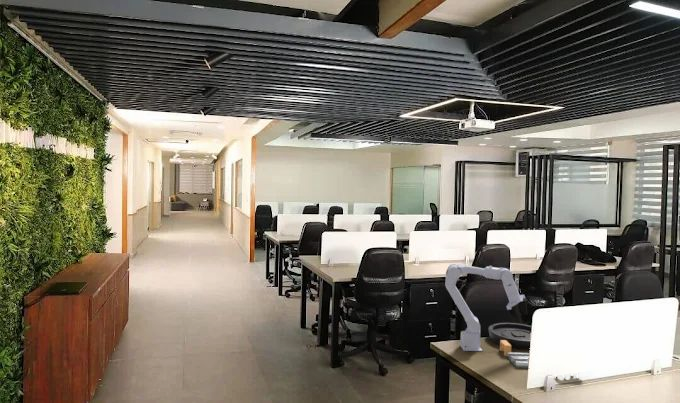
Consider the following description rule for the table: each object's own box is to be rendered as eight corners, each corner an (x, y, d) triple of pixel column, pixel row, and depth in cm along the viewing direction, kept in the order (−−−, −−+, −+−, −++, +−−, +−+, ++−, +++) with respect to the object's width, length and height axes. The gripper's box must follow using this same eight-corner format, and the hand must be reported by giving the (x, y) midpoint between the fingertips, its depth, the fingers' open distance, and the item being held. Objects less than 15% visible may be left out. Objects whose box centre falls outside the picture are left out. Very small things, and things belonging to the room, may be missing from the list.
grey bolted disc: (533, 332, 263) (481, 331, 263) (534, 322, 263) (481, 321, 263) (558, 352, 233) (499, 351, 233) (558, 340, 233) (499, 339, 233)
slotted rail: (516, 368, 212) (516, 362, 211) (507, 357, 225) (507, 352, 224) (538, 368, 211) (538, 363, 211) (527, 357, 224) (527, 352, 224)
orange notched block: (504, 355, 226) (505, 345, 226) (499, 350, 234) (500, 340, 234) (510, 356, 226) (511, 345, 226) (505, 350, 234) (506, 340, 234)
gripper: (511, 296, 223) (521, 323, 222) (526, 285, 232) (536, 311, 231) (499, 297, 228) (509, 323, 228) (514, 287, 237) (523, 312, 237)
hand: (521, 317), depth 230 cm, fingers open, 7 cm apart
